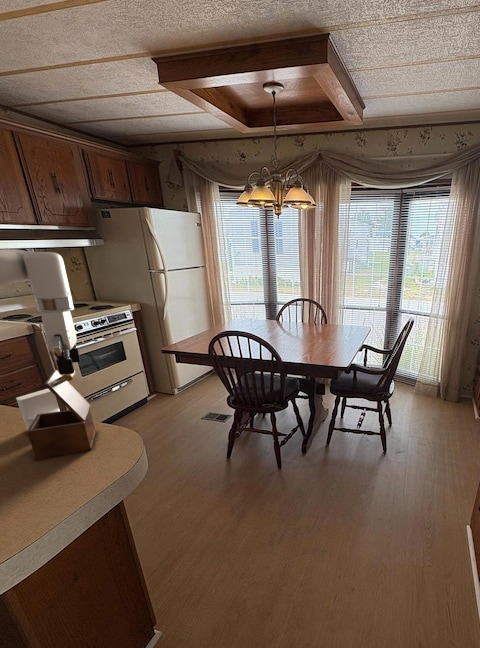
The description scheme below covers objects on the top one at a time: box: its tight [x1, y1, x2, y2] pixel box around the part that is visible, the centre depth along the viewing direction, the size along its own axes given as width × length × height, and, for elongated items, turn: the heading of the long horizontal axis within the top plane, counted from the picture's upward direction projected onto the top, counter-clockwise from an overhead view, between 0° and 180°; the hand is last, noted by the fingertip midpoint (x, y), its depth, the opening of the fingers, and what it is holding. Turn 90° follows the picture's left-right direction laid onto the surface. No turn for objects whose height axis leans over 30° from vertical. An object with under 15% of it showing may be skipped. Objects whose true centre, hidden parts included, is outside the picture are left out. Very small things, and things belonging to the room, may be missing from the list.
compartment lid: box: [44, 369, 91, 422], centre depth 95 cm, size 13×11×5 cm
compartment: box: [26, 407, 97, 461], centre depth 98 cm, size 13×11×9 cm
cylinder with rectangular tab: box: [15, 388, 61, 431], centre depth 105 cm, size 9×9×12 cm
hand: (70, 367), depth 93 cm, fingers open, 9 cm apart
